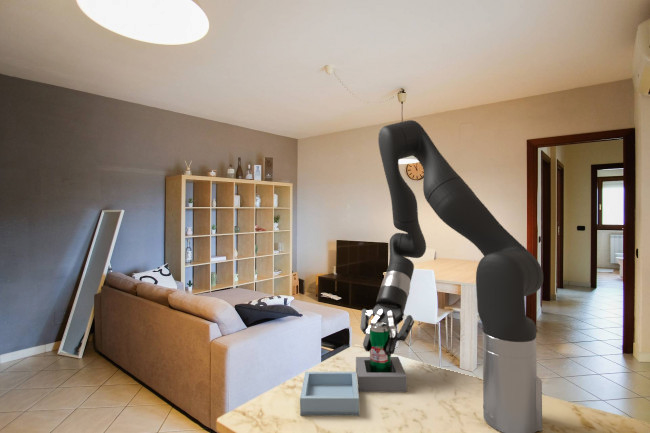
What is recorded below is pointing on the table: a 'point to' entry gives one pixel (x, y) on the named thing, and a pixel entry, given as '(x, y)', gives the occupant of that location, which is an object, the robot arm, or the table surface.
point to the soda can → (379, 348)
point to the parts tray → (329, 394)
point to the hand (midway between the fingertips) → (377, 351)
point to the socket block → (380, 377)
